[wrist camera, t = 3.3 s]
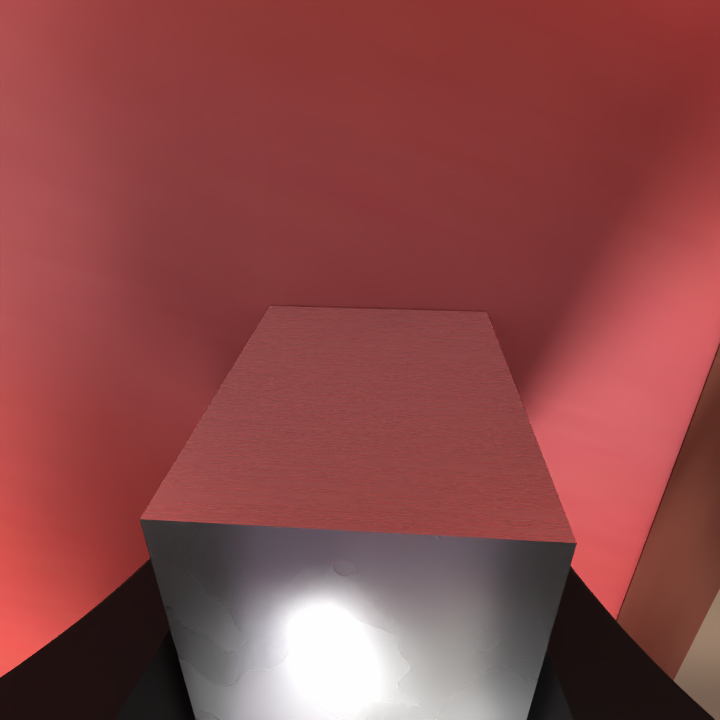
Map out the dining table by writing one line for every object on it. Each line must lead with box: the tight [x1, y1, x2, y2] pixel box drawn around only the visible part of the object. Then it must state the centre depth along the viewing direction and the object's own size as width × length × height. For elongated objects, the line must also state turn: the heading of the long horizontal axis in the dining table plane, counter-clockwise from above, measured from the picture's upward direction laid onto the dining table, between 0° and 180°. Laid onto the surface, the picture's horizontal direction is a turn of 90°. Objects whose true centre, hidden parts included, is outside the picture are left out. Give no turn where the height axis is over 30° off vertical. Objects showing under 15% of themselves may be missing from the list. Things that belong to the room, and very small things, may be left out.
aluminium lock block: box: [140, 306, 577, 720], centre depth 10 cm, size 8×4×6 cm, turn 0°
